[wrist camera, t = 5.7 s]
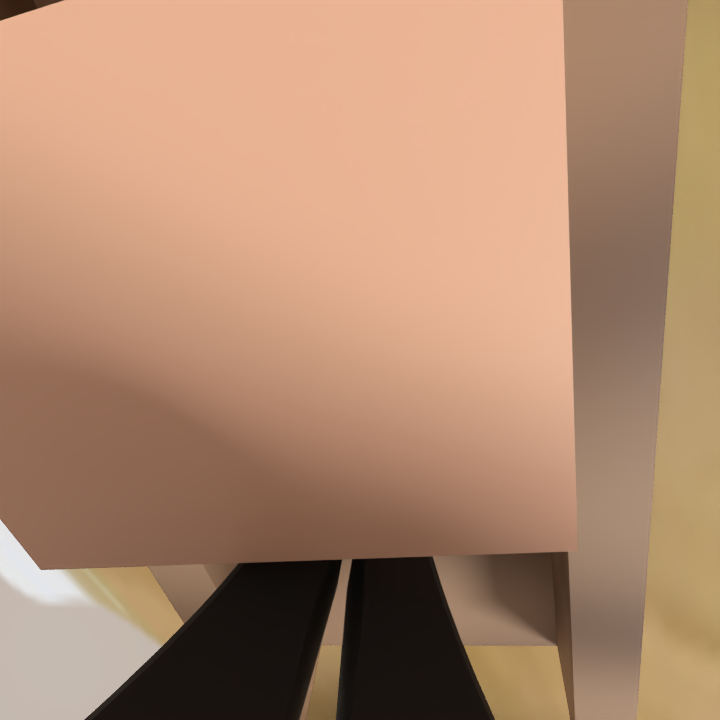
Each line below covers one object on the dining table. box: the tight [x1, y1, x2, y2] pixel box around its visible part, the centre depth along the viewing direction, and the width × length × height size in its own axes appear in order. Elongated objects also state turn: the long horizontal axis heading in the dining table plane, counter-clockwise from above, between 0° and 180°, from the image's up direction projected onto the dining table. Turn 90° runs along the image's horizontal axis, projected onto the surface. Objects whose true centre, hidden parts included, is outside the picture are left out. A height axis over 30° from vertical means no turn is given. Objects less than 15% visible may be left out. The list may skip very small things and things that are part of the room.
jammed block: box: [0, 0, 578, 570], centre depth 7 cm, size 5×6×5 cm
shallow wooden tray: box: [0, 0, 688, 720], centre depth 9 cm, size 22×9×4 cm, turn 13°
